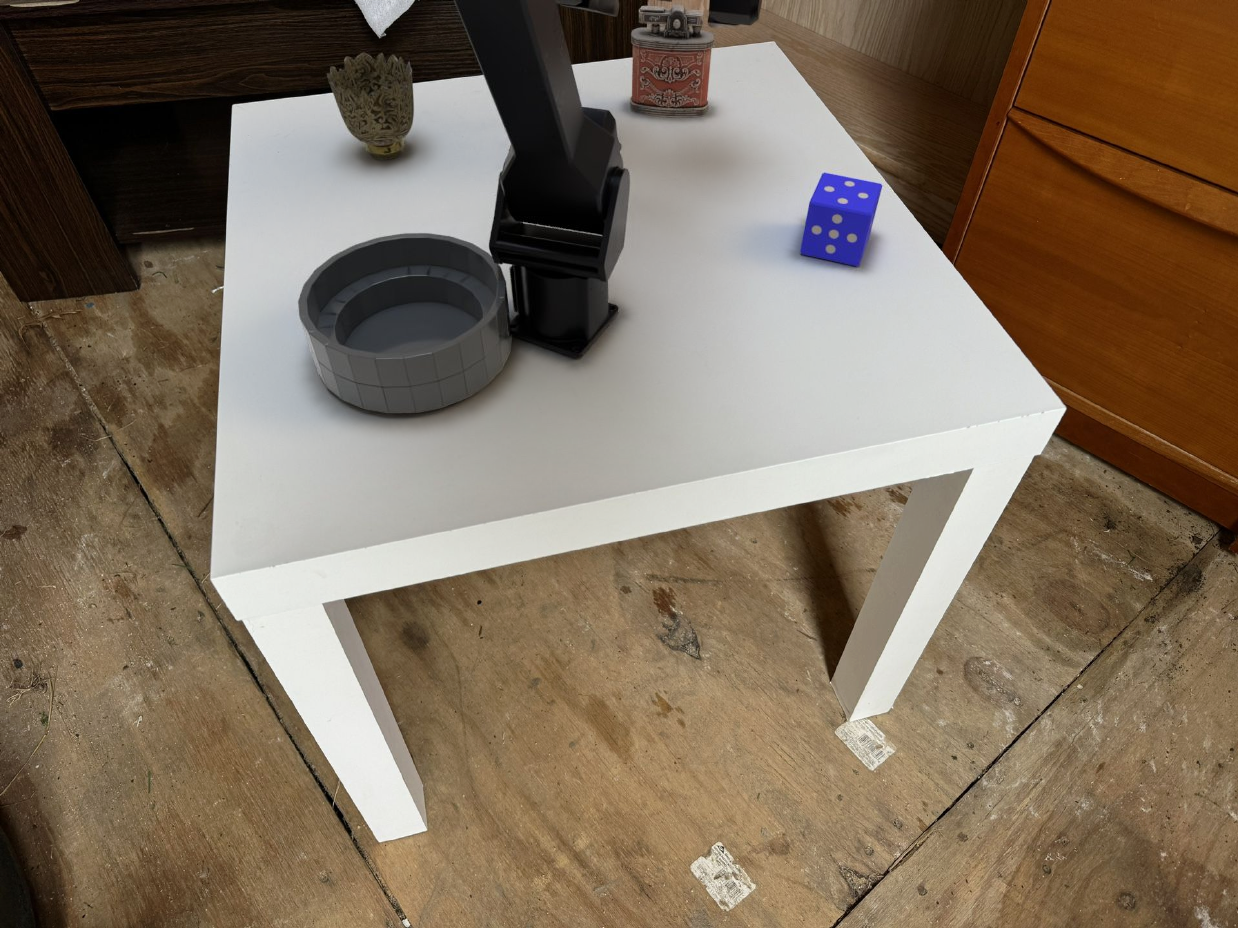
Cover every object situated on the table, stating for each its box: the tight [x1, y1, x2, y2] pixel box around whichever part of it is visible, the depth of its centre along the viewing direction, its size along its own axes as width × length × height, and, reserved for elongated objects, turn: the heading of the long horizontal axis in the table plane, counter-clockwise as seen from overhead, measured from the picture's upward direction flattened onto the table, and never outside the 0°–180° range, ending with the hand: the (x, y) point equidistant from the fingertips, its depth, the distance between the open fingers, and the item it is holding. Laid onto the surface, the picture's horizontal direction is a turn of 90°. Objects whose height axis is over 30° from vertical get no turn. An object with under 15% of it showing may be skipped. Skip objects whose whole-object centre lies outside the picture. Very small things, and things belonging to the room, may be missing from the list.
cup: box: [326, 52, 415, 160], centre depth 82 cm, size 8×7×8 cm
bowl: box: [297, 232, 513, 414], centre depth 64 cm, size 14×14×6 cm
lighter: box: [629, 3, 715, 118], centre depth 87 cm, size 8×3×10 cm, turn 84°
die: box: [799, 172, 883, 267], centre depth 73 cm, size 5×5×5 cm
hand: (664, 16), depth 81 cm, fingers open, 9 cm apart
